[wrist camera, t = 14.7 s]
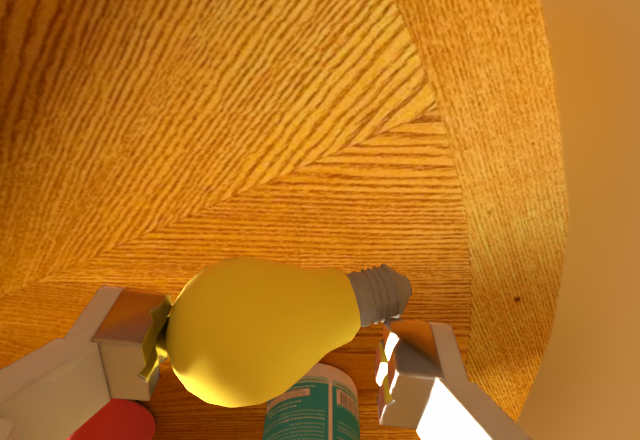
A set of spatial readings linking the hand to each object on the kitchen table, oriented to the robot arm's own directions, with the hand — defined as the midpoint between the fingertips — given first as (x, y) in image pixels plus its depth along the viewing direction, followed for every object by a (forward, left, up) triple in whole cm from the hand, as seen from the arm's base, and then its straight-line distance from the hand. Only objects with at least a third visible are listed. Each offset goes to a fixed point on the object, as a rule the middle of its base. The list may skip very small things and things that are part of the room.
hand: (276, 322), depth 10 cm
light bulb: (0, 0, -2) cm, 2 cm away
